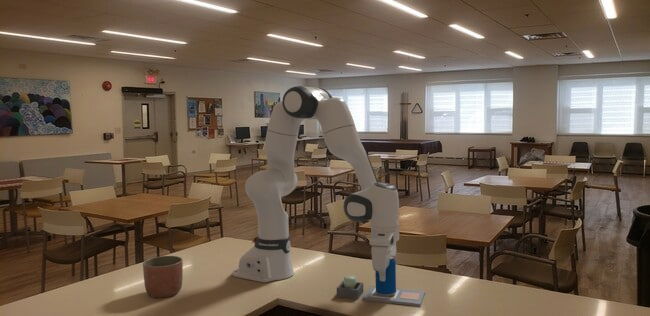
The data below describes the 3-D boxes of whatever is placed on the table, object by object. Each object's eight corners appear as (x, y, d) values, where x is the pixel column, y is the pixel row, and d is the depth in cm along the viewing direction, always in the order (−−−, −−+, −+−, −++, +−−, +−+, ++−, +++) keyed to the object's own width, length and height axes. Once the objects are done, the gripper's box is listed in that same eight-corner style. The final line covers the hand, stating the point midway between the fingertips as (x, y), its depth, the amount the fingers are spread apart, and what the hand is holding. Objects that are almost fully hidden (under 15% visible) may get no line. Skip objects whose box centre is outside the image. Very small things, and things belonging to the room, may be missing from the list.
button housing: (336, 296, 152) (336, 287, 151) (342, 289, 158) (342, 280, 158) (357, 299, 149) (357, 290, 149) (363, 291, 156) (363, 282, 156)
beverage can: (395, 297, 148) (395, 259, 147) (375, 296, 149) (374, 259, 149) (396, 290, 155) (395, 253, 154) (376, 289, 156) (375, 253, 155)
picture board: (362, 299, 149) (362, 297, 149) (370, 287, 159) (370, 285, 159) (420, 306, 143) (420, 303, 143) (425, 293, 154) (425, 290, 154)
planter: (191, 288, 161) (190, 257, 160) (167, 302, 149) (166, 268, 148) (160, 285, 165) (159, 254, 164) (135, 298, 153) (134, 264, 152)
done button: (342, 289, 152) (342, 279, 152) (346, 285, 156) (345, 275, 156) (354, 291, 151) (354, 280, 151) (357, 286, 155) (357, 276, 155)
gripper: (382, 226, 161) (382, 266, 163) (368, 241, 142) (368, 286, 143) (400, 227, 159) (400, 267, 160) (388, 242, 140) (389, 288, 141)
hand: (385, 276), depth 152 cm, fingers closed on beverage can, 6 cm apart
